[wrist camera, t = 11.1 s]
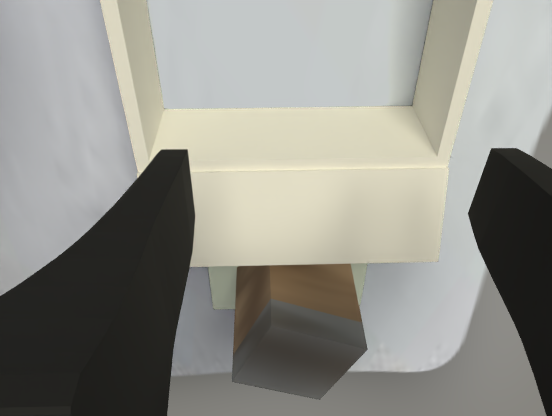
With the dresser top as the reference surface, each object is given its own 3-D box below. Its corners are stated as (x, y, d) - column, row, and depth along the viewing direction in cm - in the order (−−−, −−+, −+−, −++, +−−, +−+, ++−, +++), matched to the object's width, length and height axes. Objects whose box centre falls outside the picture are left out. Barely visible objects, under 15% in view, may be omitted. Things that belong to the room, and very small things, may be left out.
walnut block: (308, 288, 29) (319, 399, 24) (236, 268, 28) (232, 381, 23) (345, 236, 27) (367, 349, 21) (268, 212, 25) (271, 325, 20)
